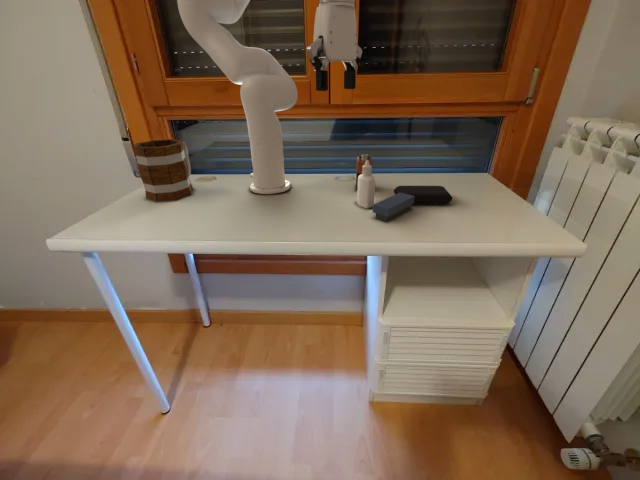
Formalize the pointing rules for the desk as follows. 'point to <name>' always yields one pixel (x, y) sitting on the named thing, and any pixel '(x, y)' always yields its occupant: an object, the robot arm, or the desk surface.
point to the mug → (164, 169)
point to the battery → (360, 162)
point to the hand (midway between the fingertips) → (336, 89)
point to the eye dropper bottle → (366, 187)
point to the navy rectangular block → (393, 206)
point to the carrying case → (426, 194)
